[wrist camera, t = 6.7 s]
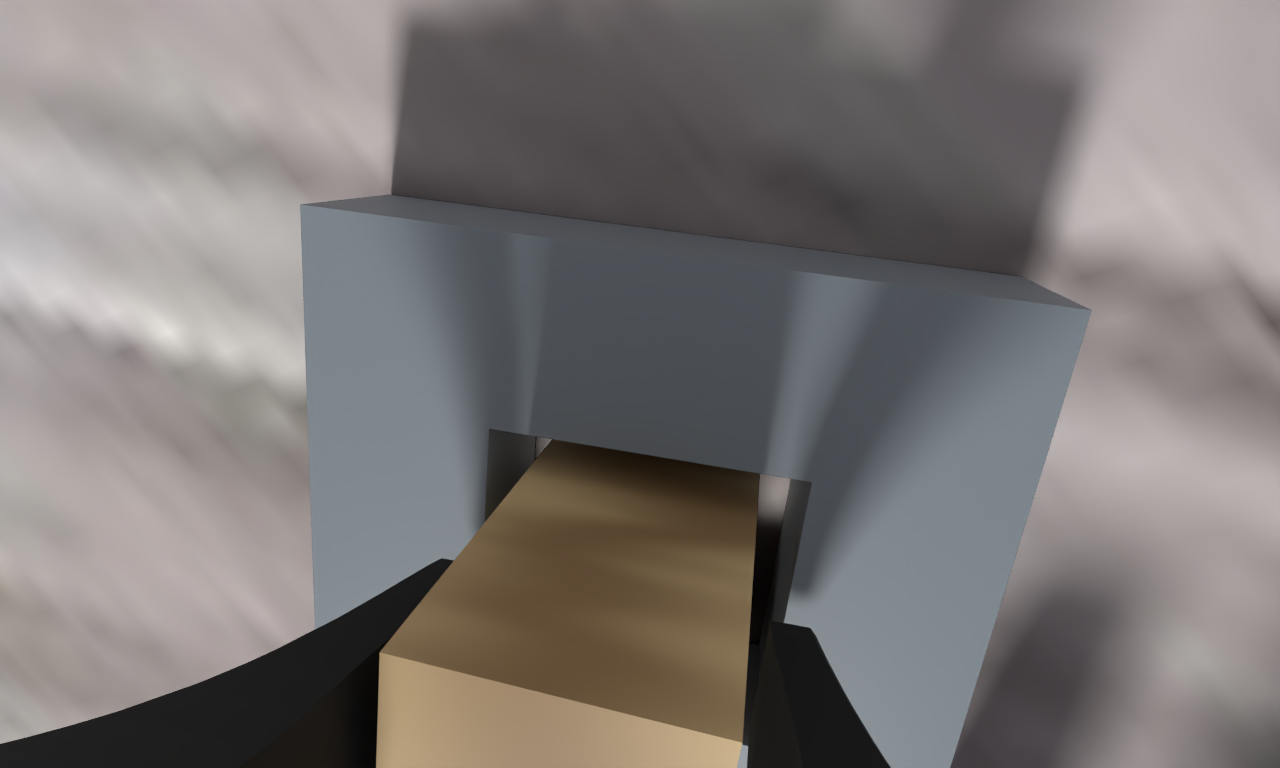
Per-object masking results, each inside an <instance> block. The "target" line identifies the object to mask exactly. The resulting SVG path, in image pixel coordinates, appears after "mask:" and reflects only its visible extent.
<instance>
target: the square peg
mask: <svg viewBox="0 0 1280 768" xmlns="http://www.w3.org/2000/svg"><path fill="white" fill-rule="evenodd" d="M759 479H760V474H759V473H753V472H747V471H741V470H735V469H729V468H723V467H717V466H711V465H705V464H699V463H693V462H687V461H681V460H675V459H669V458H663V457H657V456H651V455H645V454H639V453H633V452H627V451H621V450H615V449H609V448H603V447H597V446H591V445H585V444H579V443H573V442H567V441H561V440H555V439H552V440H551V442H550V443H549V444H548V445H547V446H546V448H545V449H544V450H543V451H542V453H541V454H540V455H539V456H538V458H537V459H536V460H535V461H534V463H533V464H532V465H531V466H530V467H529V469H528V470H527V471H526V472H525V474H524V475H523V476H522V477H521V479H520V480H519V481H518V482H517V484H516V485H515V486H514V487H513V488H512V490H511V491H510V492H509V493H508V495H507V496H506V497H505V498H504V500H503V501H502V502H501V503H500V504H499V506H498V507H497V508H496V509H495V511H494V512H493V513H492V514H491V516H490V517H489V518H488V519H487V521H486V522H485V523H484V524H483V525H482V527H481V528H480V529H479V530H478V532H477V533H476V534H475V535H474V537H473V538H472V539H471V540H470V542H469V543H468V544H467V545H466V546H465V548H464V549H463V550H462V551H461V553H460V554H459V555H458V556H457V558H456V559H455V560H454V561H453V562H452V564H451V565H450V566H449V567H448V569H447V570H446V571H445V572H444V574H443V575H442V576H441V577H440V579H439V580H438V581H437V582H436V583H435V585H434V586H433V587H432V588H431V590H430V591H429V592H428V593H427V595H426V596H425V597H424V598H423V600H422V601H421V602H420V603H419V604H418V606H417V607H416V608H415V609H414V611H413V612H412V613H411V614H410V616H409V617H408V618H407V619H406V621H405V622H404V623H403V624H402V625H401V627H400V628H399V629H398V630H397V632H396V633H395V634H394V635H393V637H392V638H391V639H390V640H389V641H388V643H387V644H386V645H385V646H384V648H383V649H382V650H381V651H380V658H379V690H378V723H377V755H376V768H737V764H738V760H739V756H740V751H741V747H742V742H743V727H744V711H745V696H746V680H747V665H748V649H749V634H750V618H751V603H752V587H753V572H754V556H755V541H756V525H757V510H758V494H759Z"/></svg>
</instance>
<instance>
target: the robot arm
mask: <svg viewBox="0 0 1280 768" xmlns="http://www.w3.org/2000/svg"><path fill="white" fill-rule="evenodd" d="M453 561H454V560H449V559H443V558H441V559H439V560H437V561H435V562H433V563H431V564H430V565H428V566H426V567H424V568H423V569H421V570H419V571H417V572H416V573H414V574H412V575H411V576H409V577H407V578H406V579H404V580H402V581H401V582H399V583H397V584H395V585H394V586H392V587H390V588H389V589H387V590H385V591H384V592H382V593H380V594H378V595H377V596H375V597H373V598H372V599H370V600H368V601H366V602H365V603H363V604H361V605H359V606H358V607H356V608H354V609H352V610H351V611H349V612H347V613H345V614H344V615H342V616H340V617H338V618H336V619H334V620H332V621H331V622H329V623H327V624H325V625H323V626H321V627H319V628H317V629H315V630H313V631H311V632H309V633H307V634H305V635H304V636H302V637H300V638H298V639H296V640H294V641H292V642H290V643H288V644H286V645H284V646H282V647H280V648H278V649H276V650H274V651H272V652H270V653H268V654H266V655H263V656H261V657H259V658H257V659H255V660H252V661H250V662H248V663H246V664H243V665H241V666H239V667H236V668H234V669H231V670H229V671H227V672H224V673H222V674H220V675H217V676H215V677H212V678H210V679H208V680H205V681H202V682H200V683H197V684H195V685H192V686H189V687H186V688H184V689H181V690H178V691H175V692H172V693H169V694H166V695H164V696H161V697H158V698H155V699H152V700H149V701H147V702H144V703H141V704H138V705H135V706H132V707H129V708H127V709H124V710H121V711H118V712H115V713H111V714H108V715H105V716H101V717H98V718H95V719H91V720H88V721H85V722H81V723H78V724H75V725H71V726H68V727H64V728H60V729H56V730H53V731H49V732H45V733H42V734H38V735H34V736H31V737H27V738H23V739H19V740H15V741H11V742H7V743H3V744H0V768H376V755H377V723H378V690H379V658H380V651H381V650H382V649H383V648H384V646H385V645H386V644H387V643H388V641H389V640H390V639H391V638H392V637H393V635H394V634H395V633H396V632H397V630H398V629H399V628H400V627H401V625H402V624H403V623H404V622H405V621H406V619H407V618H408V617H409V616H410V614H411V613H412V612H413V611H414V609H415V608H416V607H417V606H418V604H419V603H420V602H421V601H422V600H423V598H424V597H425V596H426V595H427V593H428V592H429V591H430V590H431V588H432V587H433V586H434V585H435V583H436V582H437V581H438V580H439V579H440V577H441V576H442V575H443V574H444V572H445V571H446V570H447V569H448V567H449V566H450V565H451V564H452V562H453ZM747 768H891V767H890V765H889V764H888V762H887V761H886V760H885V758H884V756H883V755H882V753H881V752H880V750H879V749H878V747H877V746H876V744H875V742H874V741H873V739H872V738H871V736H870V734H869V733H868V731H867V729H866V728H865V726H864V724H863V723H862V721H861V719H860V718H859V716H858V714H857V713H856V711H855V709H854V708H853V706H852V704H851V702H850V701H849V699H848V697H847V695H846V694H845V692H844V690H843V688H842V686H841V684H840V683H839V681H838V679H837V677H836V675H835V673H834V671H833V669H832V667H831V665H830V664H829V662H828V660H827V658H826V656H825V654H824V651H823V649H822V647H821V645H820V643H819V641H818V639H817V637H816V635H815V634H814V632H813V631H812V629H811V628H809V627H803V626H798V625H793V624H787V623H782V622H777V621H771V620H770V625H769V630H768V635H767V640H766V645H765V650H764V655H763V660H762V666H761V671H760V676H759V681H758V686H757V691H756V696H755V701H754V706H753V712H752V717H751V722H750V727H749V742H748V757H747Z"/></svg>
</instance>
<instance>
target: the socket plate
mask: <svg viewBox="0 0 1280 768" xmlns="http://www.w3.org/2000/svg"><path fill="white" fill-rule="evenodd" d="M300 211H301V240H302V268H303V297H304V326H305V354H306V383H307V412H308V440H309V469H310V498H311V527H312V555H313V584H314V613H315V629H317V628H319V627H321V626H323V625H325V624H327V623H329V622H331V621H332V620H334V619H336V618H338V617H340V616H342V615H344V614H345V613H347V612H349V611H351V610H352V609H354V608H356V607H358V606H359V605H361V604H363V603H365V602H366V601H368V600H370V599H372V598H373V597H375V596H377V595H378V594H380V593H382V592H384V591H385V590H387V589H389V588H390V587H392V586H394V585H395V584H397V583H399V582H401V581H402V580H404V579H406V578H407V577H409V576H411V575H412V574H414V573H416V572H417V571H419V570H421V569H423V568H424V567H426V566H428V565H430V564H431V563H433V562H435V561H437V560H439V559H441V558H443V559H449V560H455V559H456V558H457V556H458V555H459V554H460V553H461V551H462V550H463V549H464V548H465V546H466V545H467V544H468V543H469V542H470V540H471V539H472V538H473V537H474V535H475V534H476V533H477V532H478V530H479V529H480V528H481V527H482V525H483V524H484V523H485V522H486V521H487V519H488V518H489V517H490V516H491V514H492V513H493V512H494V511H495V509H496V508H497V507H498V506H499V504H500V503H501V502H502V501H503V500H504V498H505V497H506V496H507V495H508V493H509V492H510V491H511V490H512V488H513V487H514V486H515V485H516V484H517V482H518V481H519V480H520V479H521V477H522V476H523V475H524V474H525V472H526V471H527V470H528V469H529V467H530V466H531V465H532V464H533V463H534V453H535V439H536V437H542V438H548V439H555V440H561V441H567V442H573V443H579V444H585V445H591V446H597V447H603V448H609V449H615V450H621V451H627V452H633V453H639V454H645V455H651V456H657V457H663V458H669V459H675V460H681V461H687V462H693V463H699V464H705V465H711V466H717V467H723V468H729V469H735V470H741V471H747V472H753V473H759V474H765V475H771V476H777V477H783V478H789V479H791V482H790V488H789V493H788V498H787V503H786V508H785V514H784V519H783V524H782V529H781V534H780V540H779V545H778V550H777V555H776V560H775V566H774V571H773V576H772V581H771V586H770V592H769V597H768V602H767V607H766V612H765V618H764V623H763V628H762V633H761V638H760V644H759V645H756V644H751V643H749V649H748V665H747V680H746V696H745V711H744V727H743V742H742V747H741V751H740V756H739V760H738V764H737V768H747V757H748V742H749V727H750V722H751V717H752V712H753V706H754V701H755V696H756V691H757V686H758V681H759V676H760V671H761V666H762V660H763V655H764V650H765V645H766V640H767V635H768V630H769V625H770V620H771V621H777V622H782V623H787V624H793V625H798V626H803V627H809V628H811V629H812V631H813V632H814V634H815V635H816V637H817V639H818V641H819V643H820V645H821V647H822V649H823V651H824V654H825V656H826V658H827V660H828V662H829V664H830V665H831V667H832V669H833V671H834V673H835V675H836V677H837V679H838V681H839V683H840V684H841V686H842V688H843V690H844V692H845V694H846V695H847V697H848V699H849V701H850V702H851V704H852V706H853V708H854V709H855V711H856V713H857V714H858V716H859V718H860V719H861V721H862V723H863V724H864V726H865V728H866V729H867V731H868V733H869V734H870V736H871V738H872V739H873V741H874V742H875V744H876V746H877V747H878V749H879V750H880V752H881V753H882V755H883V756H884V758H885V760H886V761H887V762H888V764H889V765H890V767H891V768H950V767H951V763H952V760H953V757H954V754H955V750H956V747H957V744H958V741H959V738H960V734H961V731H962V728H963V725H964V721H965V718H966V715H967V712H968V708H969V705H970V702H971V699H972V696H973V692H974V689H975V686H976V683H977V679H978V676H979V673H980V670H981V666H982V663H983V660H984V657H985V653H986V650H987V647H988V644H989V641H990V637H991V634H992V631H993V628H994V624H995V621H996V618H997V615H998V611H999V608H1000V605H1001V602H1002V599H1003V595H1004V592H1005V589H1006V586H1007V582H1008V579H1009V576H1010V573H1011V569H1012V566H1013V563H1014V560H1015V557H1016V553H1017V550H1018V547H1019V544H1020V540H1021V537H1022V534H1023V531H1024V527H1025V524H1026V521H1027V518H1028V514H1029V511H1030V508H1031V505H1032V502H1033V498H1034V495H1035V492H1036V489H1037V485H1038V482H1039V479H1040V476H1041V472H1042V469H1043V466H1044V463H1045V460H1046V456H1047V453H1048V450H1049V447H1050V443H1051V440H1052V437H1053V434H1054V430H1055V427H1056V424H1057V421H1058V418H1059V414H1060V411H1061V408H1062V405H1063V401H1064V398H1065V395H1066V392H1067V388H1068V385H1069V382H1070V379H1071V375H1072V372H1073V369H1074V366H1075V363H1076V359H1077V356H1078V353H1079V350H1080V346H1081V343H1082V340H1083V337H1084V333H1085V330H1086V327H1087V324H1088V321H1089V317H1090V314H1091V311H1092V310H1090V309H1088V308H1086V307H1084V306H1082V305H1080V304H1077V303H1075V302H1073V301H1071V300H1069V299H1067V298H1065V297H1063V296H1061V295H1059V294H1057V293H1054V292H1052V291H1050V290H1048V289H1046V288H1044V287H1042V286H1040V285H1038V284H1036V283H1034V282H1031V281H1029V280H1027V279H1025V278H1023V277H1020V276H1013V275H1005V274H997V273H990V272H982V271H974V270H966V269H959V268H951V267H943V266H936V265H928V264H920V263H912V262H905V261H897V260H889V259H882V258H874V257H866V256H859V255H851V254H843V253H835V252H828V251H820V250H812V249H805V248H797V247H789V246H782V245H774V244H766V243H758V242H751V241H743V240H735V239H728V238H720V237H712V236H705V235H697V234H689V233H681V232H674V231H666V230H658V229H651V228H643V227H635V226H627V225H620V224H612V223H604V222H597V221H589V220H581V219H574V218H566V217H558V216H550V215H543V214H535V213H527V212H520V211H512V210H504V209H497V208H489V207H481V206H473V205H466V204H458V203H450V202H443V201H435V200H427V199H420V198H412V197H404V196H396V195H382V196H373V197H364V198H355V199H346V200H337V201H328V202H319V203H310V204H301V205H300Z"/></svg>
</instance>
